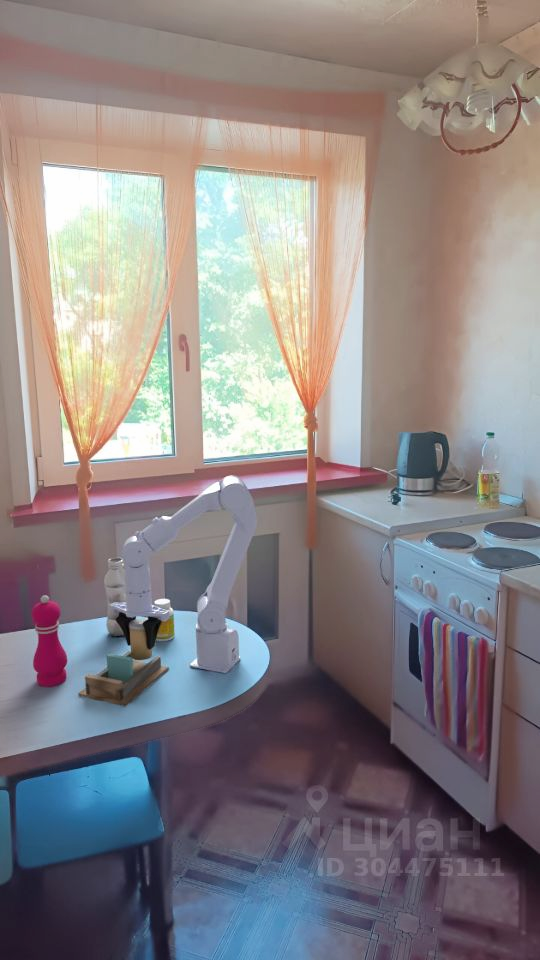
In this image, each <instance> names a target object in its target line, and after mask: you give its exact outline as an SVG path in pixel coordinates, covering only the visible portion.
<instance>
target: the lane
mask: <svg viewBox="0 0 540 960" xmlns="http://www.w3.org/2000/svg"><path fill="white" fill-rule="evenodd" d="M122 656H126V657H131V650H127V652H126V653H124V654H123V655H122ZM161 659H162V658H161V656H159V655H157V656H155V657H154V658H153V659H151V661H149V662H145V661H141V660H134V659H133V676H132V677H130V678H129V679H128V680H127V681H126V682H124V683H123V681H120V680H115V679H110V678H108V669H107V667H104V669H102V670H101V671H100V672H99V673H97V674H96V675H95V674H91V673H90V674H89V673H88V674H86V675H85V676H84V681H85V687H84V688H83V689H81V691H79V692H78V693H77V695H78V696H79V697H82V698H85V699H86V698H87V699H89V700H90V699H92V700H95V701H100V702H104V703H109V704H113V705H118V706H121V707H127V706H128V705H130V704H131V703H132V702H133V701H134V700H135V699H136V698H137V697H139V696H140V695H141V694H142V693H143V692H144V691H146V690H147V689H148V688H150V686H151V685H153V684H154V683H155V682H156V681H157V680H158V679H160V677H161V676H163V675H164V674H166V672H167V671H168V670H169V669H170V668H169V666H166V665H162V661H161Z"/></svg>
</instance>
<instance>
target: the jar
mask: <svg viewBox="0 0 540 960" xmlns="http://www.w3.org/2000/svg"><path fill="white" fill-rule="evenodd" d="M146 620H148V618H145V617H141V618H136V619H135V620H132V621H131V622H129V628H130V651H131V658H132V659H133V660H135V661H146V660H148V659H151V657H153V648H152V649H148V648H147V640H146V633H145V629H144V626H143V622H144V621H146Z"/></svg>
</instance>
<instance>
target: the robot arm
mask: <svg viewBox="0 0 540 960" xmlns="http://www.w3.org/2000/svg"><path fill="white" fill-rule="evenodd" d="M221 506H222V507H224V509H226V511H227V512H229V513H230V514H231V516H232V518H233V521H234V524H233V527H232V529H231V532H230V534H229V536H228V539H227V541H226V544H225V547H224V549H223V552H222V553H221V557H220V559H219V561H218V564H217V567H216V569H215V572H214V574H213V577H212V580H211V582H210V583H209V584H208V585H207V587H206V590H205V592H204V593H203V594H201V596H199V598H198V600H197V601H196V610H197V622H196V624H195V638H196V641H195V642H196V658H195V659H194V660H193V661H192V662H191V663H190V664H189V667H191V668H196V669H201V670H207V671H212V672H218V673H223V674H226V673H229V671H230V670H231V669H232V668H233V667H234V666H235V664H237V663H238V662H239V660H241V655H240V646H239V644H240V641H239V633H238V630H236V629H233V628H232V627H230V626H228V623H227V621H226V620H227V619H226V612H227V611H226V610H227V608H228V606H229V605H228V604H229V598H230V594H231V591H232V589H233V586H234V583H235V581H236V578H237V576H238V573H239V571H240V569H241V566H242V564H243V561H244V559H245V556H246V554H247V551H248V549H249V546H250V544H251V541H252V539H253V537H254V533H255V531H256V529H257V527H258V517H257V513H256V512H257V511H256V509H255V505H254V499H253V496H252V495H251V493H250V490H249V488H248V487H247V486H246V483H245V482H244V480H243V479H241V477H239V476H237V475H228V476H226V477H224V478H222V479H221V480H220V482H219V481H218V482H215V483H213V484H212V485H211V486H209V487H208V488H206V489H205V490H204V491H202V492H201V493H200V494H199V495H197V496H196V497H194V498H193V499H192V500H191V501H189V502H188V503H187V504H186V505H184V506H183V507H181V508H180V509H179V510H178V511H176V512H175V513H174V514H173V515H171V516H165V515H162V516H161V517H159V518H158V517H157V516H156V517H154V518H153V519H152V520H151V522H152V523H150V524H149V525H148V526H147V527H145V528H144V529H142V530H141V531H139V530H137V531H136V532H135V533H134V535H132V536H130V537H129V538H127V539H126V540H125V542H124V544H123V548H122V551H121V557H122V559H123V569H124V579H125V595H126V603H117V602H115V603H113V604H111V605H110V612H111V613H119V615H118V617H117V618H116V622H117V623H118V625H119V626H120V628H121V629H122V631H123V633H124V635H123V636H124V638H125V641H126V644H127V646H128V647H131V645H130V628H129V622H131V621H132V620H135V619H137V617H141V618H146V619H148V620H146V621H144V622H143V626H144V629H145V633H146V640H147V648H148V649H152V650H153V648H154V647H156V641H157V640H156V637H157V633H158V630H159V628H160V625H161V623H162V621H163V622H165V621H167V620H168V619H169V611H168V610H164V609H161V608H159V607H156V606H154V605H153V599H152V585H151V583H152V581H151V569H150V565H149V564H150V563H149V559H150V556H151V555H152V554H153V555H154V554H156V553H157V552H159V550H161V549H163V548H164V547H165V546H167V545H168V544H170V543H171V542H172V541H174V540H175V539H176V538H178V537H179V536H178V535H179V530H180V529H181V528H183V527H184V526H186V525H187V524H189V523H190V522H191V521H193V520H195V519H197V518H198V517H200V516H201V515H203V514H205V513H206V512H207V511H222V507H221Z"/></svg>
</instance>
